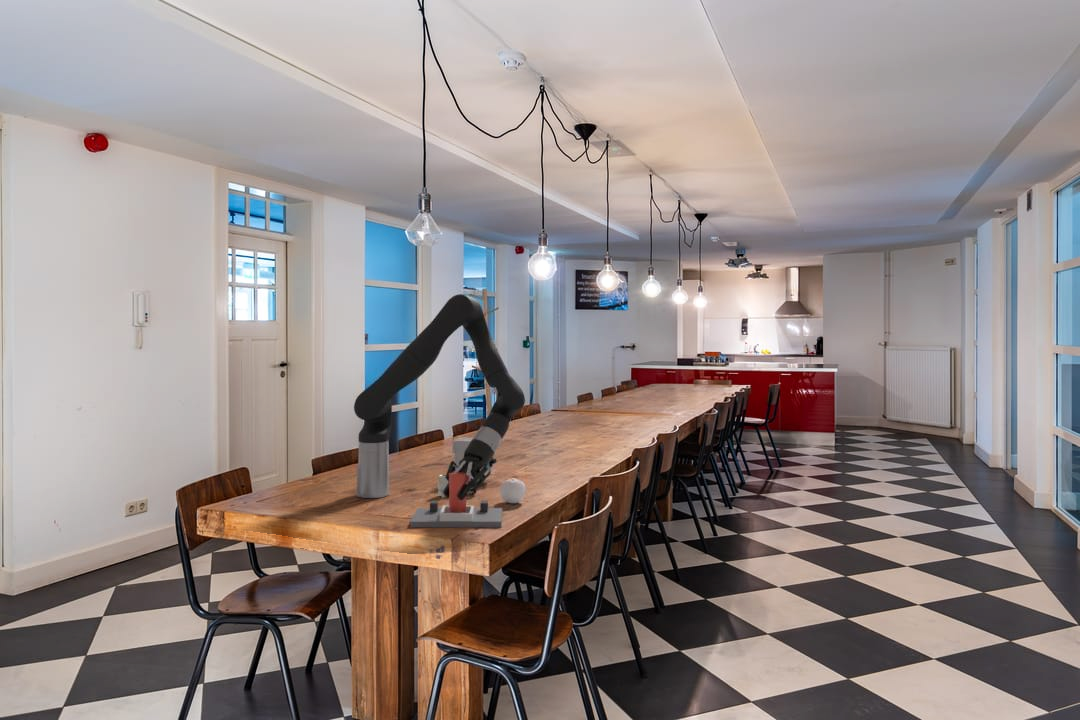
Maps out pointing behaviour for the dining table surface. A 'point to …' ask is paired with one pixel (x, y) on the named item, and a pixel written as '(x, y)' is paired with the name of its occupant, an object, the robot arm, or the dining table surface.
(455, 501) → the cap
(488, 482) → the dining table surface
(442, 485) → the valve
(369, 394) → the robot arm
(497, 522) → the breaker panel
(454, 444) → the circuit breaker
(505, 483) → the white folded ball
